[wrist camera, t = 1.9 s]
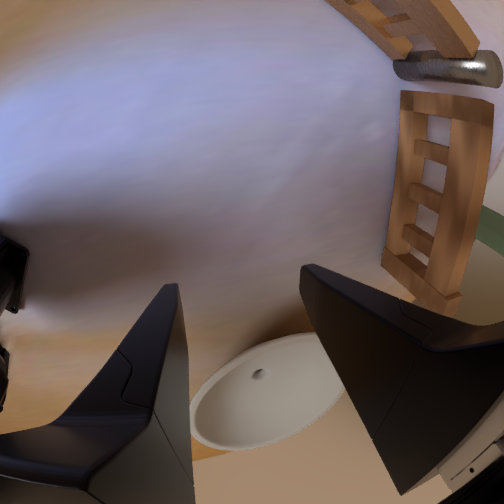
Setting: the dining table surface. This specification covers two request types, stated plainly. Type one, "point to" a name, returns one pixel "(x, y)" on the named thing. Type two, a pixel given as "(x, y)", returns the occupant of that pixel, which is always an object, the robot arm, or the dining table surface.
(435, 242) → the gate
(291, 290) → the dining table surface
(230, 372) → the dish
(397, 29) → the wooden fence panel
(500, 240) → the post
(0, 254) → the robot arm
